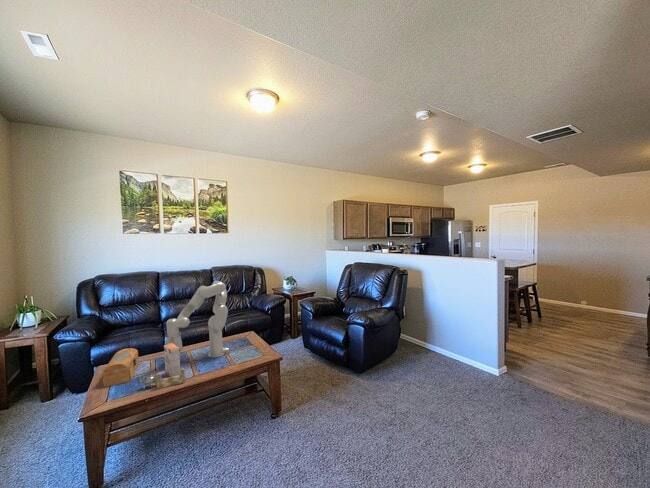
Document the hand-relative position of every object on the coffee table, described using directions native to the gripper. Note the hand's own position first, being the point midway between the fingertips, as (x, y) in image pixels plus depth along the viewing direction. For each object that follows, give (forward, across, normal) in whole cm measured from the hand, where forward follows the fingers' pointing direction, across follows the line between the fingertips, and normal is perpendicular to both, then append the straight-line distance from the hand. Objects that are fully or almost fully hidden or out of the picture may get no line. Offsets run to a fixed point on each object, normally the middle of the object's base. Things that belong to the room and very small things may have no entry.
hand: (175, 359), depth 209 cm
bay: (+5, +1, +26) cm, 27 cm away
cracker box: (+5, +2, +16) cm, 17 cm away
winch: (+4, +15, +26) cm, 31 cm away
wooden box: (+4, +34, -3) cm, 34 cm away
